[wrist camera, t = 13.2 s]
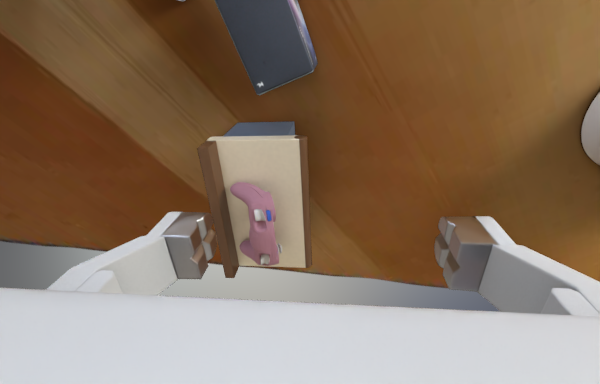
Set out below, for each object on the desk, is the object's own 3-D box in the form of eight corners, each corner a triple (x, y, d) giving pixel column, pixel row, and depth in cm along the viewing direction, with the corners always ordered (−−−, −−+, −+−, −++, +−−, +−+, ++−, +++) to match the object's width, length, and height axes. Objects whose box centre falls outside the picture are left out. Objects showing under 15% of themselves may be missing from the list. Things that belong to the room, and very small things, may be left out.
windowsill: (312, 117, 40) (304, 146, 29) (315, 227, 48) (310, 281, 38) (231, 119, 41) (196, 147, 31) (248, 226, 50) (225, 277, 39)
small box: (321, 63, 37) (317, 73, 27) (274, 84, 38) (255, 99, 29) (288, -34, 32) (269, -61, 23) (236, -6, 34) (200, -21, 25)
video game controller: (272, 239, 40) (288, 273, 34) (238, 248, 39) (250, 284, 33) (265, 173, 36) (283, 198, 30) (227, 180, 34) (238, 208, 28)
